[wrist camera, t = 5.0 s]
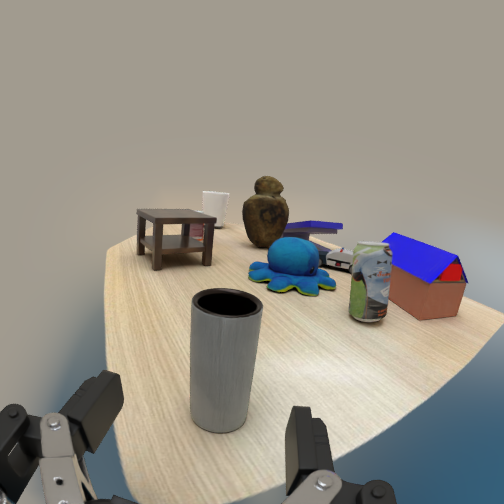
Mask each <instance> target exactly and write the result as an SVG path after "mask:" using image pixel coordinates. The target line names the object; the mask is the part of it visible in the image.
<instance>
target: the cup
mask: <svg viewBox="0 0 504 504" xmlns="http://www.w3.org/2000/svg"><path fill="white" fill-rule="evenodd" d="M229 195H230V194H229V193H222V192H211V191H203V212H204V214H206V215H209V216H213V217H216V218H217V223H216V224H215V225H214V228H215V227H216V228H219V229H221V228H222V227H223V226H224V221H225V216H226V210H227V206H228V200H229ZM204 227H205V224H204Z"/></svg>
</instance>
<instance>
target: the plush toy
mask: <svg viewBox="0 0 504 504" xmlns="http://www.w3.org/2000/svg"><path fill="white" fill-rule="evenodd" d="M267 258H268V262H269V263H262V262H254V263H252V264H251V265H250V267H249V271H250V272H249V273H248V274H249V277H248V279H251V280H252V281H254V282H261V281H270V283H269V284H268V285H267V288H269V289H271V290H273V291H278V292H285V291H288V290H289V289H291V288H293V287H296V288H297V289H298V291H299V292H300V293H301V294H305V295H309V296H317V295H318V293H319V289H318V286H320V287H322V288H324V289H335V288H336V282H335V281H334V280H333V279H331V278H330V277H329V274H328V273H327V272H326V271H324V270H321V269H318V265H319V252H318V249H317V248H316V246H315V245H314V244H313V243H311V242H309V241H307V240H304V239H300V238H296V237H284V238H280V239H278V240H276V241H275V242H274V243H273V244H272V245H271V246H270V248H269V250H268V255H267Z"/></svg>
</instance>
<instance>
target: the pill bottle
mask: <svg viewBox="0 0 504 504" xmlns="http://www.w3.org/2000/svg"><path fill="white" fill-rule="evenodd" d="M197 212H200V213H203V214H204V212H203V211H197ZM203 234H204V224H190V234H189V236H190V237H192V238H194V239H196V240H198V241H200V242H203Z"/></svg>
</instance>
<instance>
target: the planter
mask: <svg viewBox="0 0 504 504" xmlns="http://www.w3.org/2000/svg"><path fill="white" fill-rule="evenodd" d="M262 311H263V304H262V302H261V301H260V300H259V299H258V298H257V297H255V296H254V295H252V294H249V293H247V292H244V291H240V290H235V289H227V288H214V289H207V290H203V291H200V292H198V293H197V294H195V295H194V297H193V298H192V305H191V335H190V412H191V417H192V419H193V421H194V422H195V423H196V424H197V425H198V426H199V427H201V428H203V429H205V430H207V431H210V432H215V433H226V432H231V431H234V430H236V429H238V428H239V427H240V426H242V425H243V423H244V422H245V419H246V416H247V411H248V404H249V398H250V392H251V385H252V379H253V372H254V366H255V359H256V353H257V346H258V339H259V332H260V325H261V318H262Z"/></svg>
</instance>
